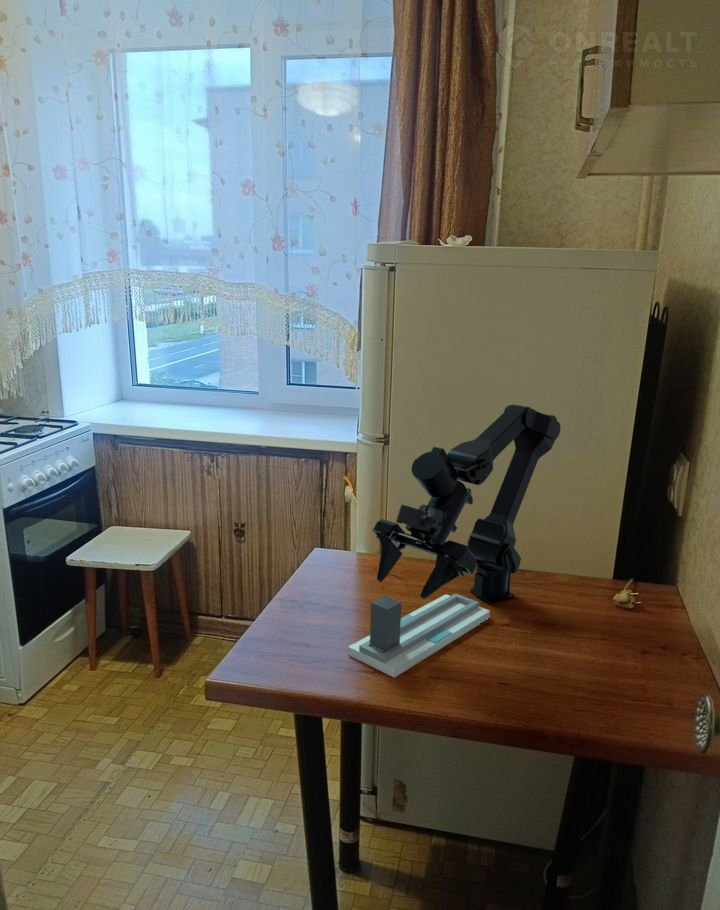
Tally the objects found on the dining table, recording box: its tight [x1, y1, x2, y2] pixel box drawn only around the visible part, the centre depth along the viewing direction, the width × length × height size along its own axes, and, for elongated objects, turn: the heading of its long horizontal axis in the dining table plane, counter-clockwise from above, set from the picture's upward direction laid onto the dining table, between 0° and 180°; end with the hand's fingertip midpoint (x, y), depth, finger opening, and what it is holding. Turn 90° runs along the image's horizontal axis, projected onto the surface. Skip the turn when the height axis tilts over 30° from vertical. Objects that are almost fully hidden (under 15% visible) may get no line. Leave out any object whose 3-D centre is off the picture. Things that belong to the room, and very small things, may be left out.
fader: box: [369, 595, 402, 653], centre depth 119 cm, size 4×4×8 cm
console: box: [347, 593, 491, 679], centre depth 128 cm, size 28×10×2 cm, turn 138°
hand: (399, 589), depth 120 cm, fingers open, 9 cm apart
